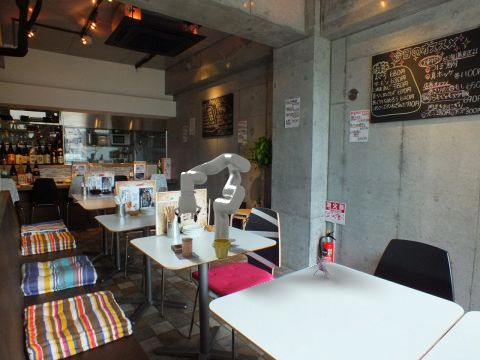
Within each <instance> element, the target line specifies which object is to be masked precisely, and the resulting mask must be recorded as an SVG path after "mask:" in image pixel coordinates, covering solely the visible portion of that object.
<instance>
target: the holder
mask: <svg viewBox="0 0 480 360" xmlns="http://www.w3.org/2000/svg"><path fill="white" fill-rule="evenodd" d="M170 249H171V251H172V252H173V253H174V255H177V254H182V243H177V244H170Z"/></svg>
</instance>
